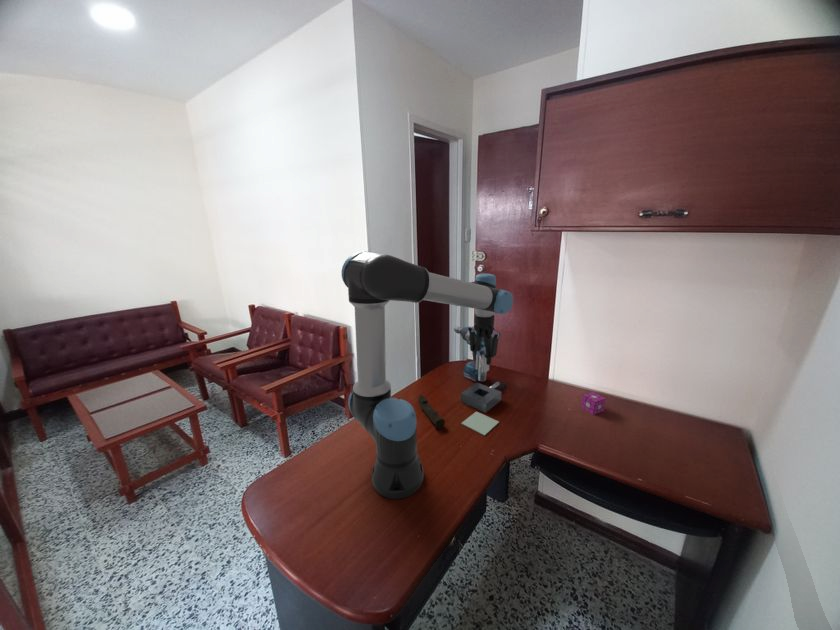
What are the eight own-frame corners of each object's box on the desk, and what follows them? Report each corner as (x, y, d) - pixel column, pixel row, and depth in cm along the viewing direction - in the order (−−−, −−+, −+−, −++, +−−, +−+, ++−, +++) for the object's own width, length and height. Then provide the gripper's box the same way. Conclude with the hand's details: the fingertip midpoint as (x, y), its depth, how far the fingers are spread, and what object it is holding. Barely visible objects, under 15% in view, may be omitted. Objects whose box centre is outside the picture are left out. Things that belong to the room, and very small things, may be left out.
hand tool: (445, 427, 113) (445, 416, 112) (435, 430, 112) (435, 419, 111) (425, 401, 130) (425, 392, 129) (416, 403, 129) (416, 393, 128)
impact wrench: (459, 366, 160) (460, 320, 153) (495, 382, 144) (498, 332, 136) (449, 371, 156) (449, 324, 148) (484, 388, 139) (486, 336, 132)
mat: (484, 435, 108) (484, 434, 108) (461, 424, 115) (461, 423, 115) (499, 422, 115) (499, 421, 115) (476, 412, 122) (476, 411, 122)
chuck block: (485, 412, 121) (486, 404, 120) (460, 401, 129) (460, 393, 128) (510, 392, 135) (510, 384, 134) (486, 383, 143) (486, 375, 142)
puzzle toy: (591, 404, 126) (592, 391, 124) (603, 411, 121) (605, 398, 119) (580, 407, 124) (582, 394, 122) (593, 415, 119) (595, 402, 117)
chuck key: (480, 384, 123) (481, 352, 119) (473, 381, 125) (474, 350, 121) (489, 377, 128) (491, 347, 124) (483, 375, 130) (484, 345, 126)
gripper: (508, 316, 116) (505, 372, 122) (472, 308, 126) (470, 361, 133) (498, 320, 110) (495, 379, 117) (461, 312, 121) (460, 366, 128)
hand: (482, 369), depth 125 cm, fingers closed on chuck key, 3 cm apart
